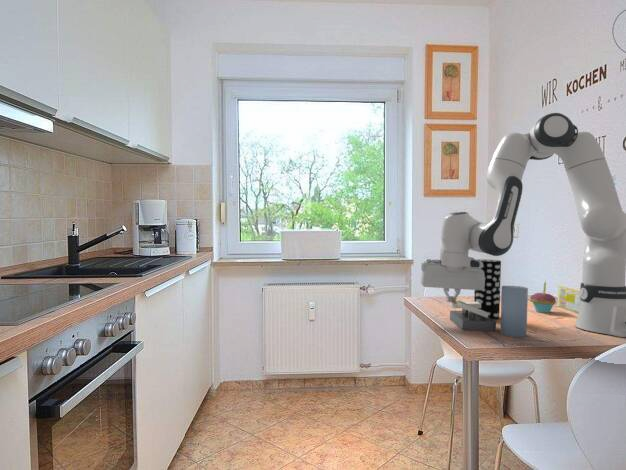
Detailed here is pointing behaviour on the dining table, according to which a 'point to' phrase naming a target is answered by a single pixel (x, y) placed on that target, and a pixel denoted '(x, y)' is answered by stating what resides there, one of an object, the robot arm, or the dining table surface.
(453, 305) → the paddle
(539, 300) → the cupcake
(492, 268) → the white-spotted black cylinder
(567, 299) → the candy box
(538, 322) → the dining table surface
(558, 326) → the dining table surface
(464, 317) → the panel
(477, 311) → the paddle
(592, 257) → the robot arm
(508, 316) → the blue cylinder
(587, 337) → the dining table surface
